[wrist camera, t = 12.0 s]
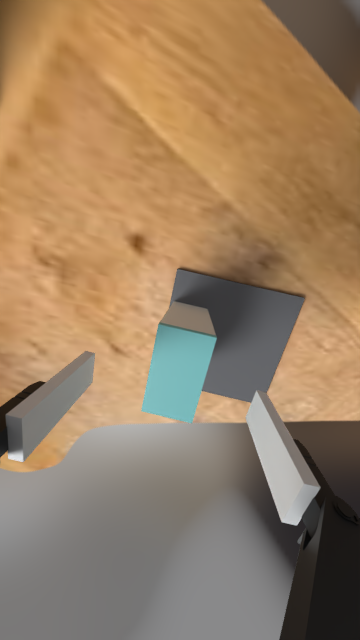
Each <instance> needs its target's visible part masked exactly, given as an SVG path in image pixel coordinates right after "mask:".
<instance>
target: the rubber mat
mask: <svg viewBox="0 0 360 640" xmlns="http://www.w3.org/2000/svg"><path fill="white" fill-rule="evenodd" d="M304 299H305V298H302V297H298V296H294V295H289V294H285V293H280V292H276V291H272V290H267V289H263V288H259V287H254V286H250V285H246V284H241V283H237V282H232V281H228V280H224V279H219V278H215V277H211V276H206V275H202V274H197V273H193V272H189V271H184V270H180V269H177V273H176V278H175V283H174V288H173V292H172V297H171V302H170V306H171V305H172V303H173V302H174V301H176V302H180V303H184V304H189V305H193V306H197V307H202V308H206V309H208V312H209V315H210V318H211V321H212V324H213V327H214V330H215V334H216V337H217V339H216V343H215V346H214V349H213V353H212V356H211V360H210V363H209V367H208V370H207V373H206V377H205V380H204V384H203V387H202V390H201V391H205V392H209V393H213V394H217V395H221V396H225V397H230V398H234V399H238V400H242V401H246V402H250V403H252V400H253V398H254V395H255V393H256V390H257V391H262V392H266V393H267V390H268V388H269V385H270V383H271V380H272V378H273V375H274V373H275V370H276V368H277V366H278V363H279V361H280V358H281V356H282V353H283V351H284V348H285V346H286V343H287V341H288V338H289V336H290V334H291V331H292V329H293V326H294V324H295V321H296V319H297V316H298V314H299V311H300V309H301V306H302V304H303V302H304ZM169 308H170V307H169Z"/></svg>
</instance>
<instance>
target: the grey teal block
mask: <svg viewBox="0 0 360 640" xmlns="http://www.w3.org/2000/svg"><path fill="white" fill-rule="evenodd" d="M216 339H217V337H216V334H215V330H214V327H213V324H212V321H211V318H210V315H209V312H208V309H206V308H202V307H197V306H193V305H189V304H184V303H180V302H176V301H174V302H173V303H172V305H171V306H170V308H169V309H168V311H167V312H166V314H165V315H164V317H163V318H162V320H161V321H160V323H159V324H158V330H157V335H156V340H155V345H154V350H153V355H152V360H151V365H150V370H149V375H148V380H147V385H146V390H145V395H144V400H143V406H142V411H143V412H147V413H151V414H156V415H160V416H164V417H168V418H172V419H176V420H180V421H184V422H189V423H192V421H193V418H194V414H195V411H196V407H197V404H198V401H199V397H200V394H201V390H202V387H203V384H204V380H205V377H206V373H207V370H208V367H209V363H210V360H211V356H212V353H213V349H214V346H215V343H216Z"/></svg>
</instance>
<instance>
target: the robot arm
mask: <svg viewBox="0 0 360 640" xmlns="http://www.w3.org/2000/svg"><path fill="white" fill-rule="evenodd" d="M94 359H95V353H92V352H88V351H85V352H84V353H83V354H81V355H80V356H79V357H78V358H76V359H75V360H74V361H72V362H71V363H70V364H69V365H67V366H66V367H65V368H64V369H62V370H61V371H60V372H59V373H57V374H56V375H55V376H54V377H52V378H51V379H50V380H49V381H47V382H41V381H39V382H36V383H34V384H32V385H30V386H28V387H27V388H25V389H24V390H23V391H22V392H20V393H19V394H17V395H16V396H15V397H13V398H12V399H10V400H9V401H8V402H6V403H5V404H4V405H2V406H1V407H0V457H1V456H2V455H3V454H4V453H5V452H6V451H7V450H8V459H12V460H16V461H21V462H24V461H25V460H26V459H27V457H28V456H29V455H30V454H31V453H32V452H33V450H34V449H35V448H36V447H37V446H38V445H39V443H40V442H41V441H42V440H43V439H44V438H45V437H46V435H47V434H48V433H49V432H50V431H51V430H52V428H53V427H54V426H55V425H56V424H57V423H58V421H59V420H60V419H61V418H62V417H63V416H64V415H65V413H66V412H67V411H68V410H69V409H70V408H71V406H72V405H73V404H74V403H75V402H76V401H77V399H78V398H79V397H80V396H81V395H82V394H83V393H84V391H85V390H86V389H87V388H88V387H89V386H90V384H91V383H92V380H93V370H94ZM246 420H247V423H248V426H249V429H250V432H251V435H252V438H253V440H254V444H255V446H256V449H257V452H258V455H259V458H260V461H261V464H262V467H263V470H264V472H265V475H266V478H267V481H268V484H269V487H270V490H271V492H272V495H273V498H274V501H275V504H276V507H277V510H278V513H279V516H280V519H281V521H282V522H284V523H288V524H293V525H297V524H298V523H299V521H300V520H301V518H302V519H303V521H304V524H305V526H306V529H305V530H304V532H303V534H302V535H301V537H300V538H299V540H298V543H299V544H300V543H301V545H300V550H299V555H298V559H297V563H296V568H295V573H294V577H293V581H292V586H291V591H290V595H289V599H288V604H287V609H286V613H285V617H284V622H283V626H282V630H281V635H280V639H279V640H360V518H359V517H358V516H357V514H356V512H355V511H354V510H353V509H352V508H351V507H350V506H349V505H348V504H347V503H346V502H345V501H344V500H342V499H341V498H339V497H337V496H335V495H334V493H333V491H332V490H331V488H330V487H329V485H328V483H327V482H326V480H325V478H324V477H323V475H322V473H321V472H320V470H319V469H318V467H316V464H315V462H314V461H313V459H312V458H311V456H310V454H309V452H308V451H307V449H306V448H305V447H304V446H303V445H302V444H301V443H300V442H299V441H298V440H295V439H292V437H291V435H290V433H289V432H288V430H287V428H286V427H285V425H284V423H283V421H282V420H281V418H280V416H279V414H278V413H277V411H276V409H275V407H274V406H273V404H272V402H271V400H270V399H269V397H268V395H267V394H266V392H262V391H257V390H256V393H255V395H254V398H253V400H252V403H251V405H250V408H249V410H248V413H247V415H246Z"/></svg>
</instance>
